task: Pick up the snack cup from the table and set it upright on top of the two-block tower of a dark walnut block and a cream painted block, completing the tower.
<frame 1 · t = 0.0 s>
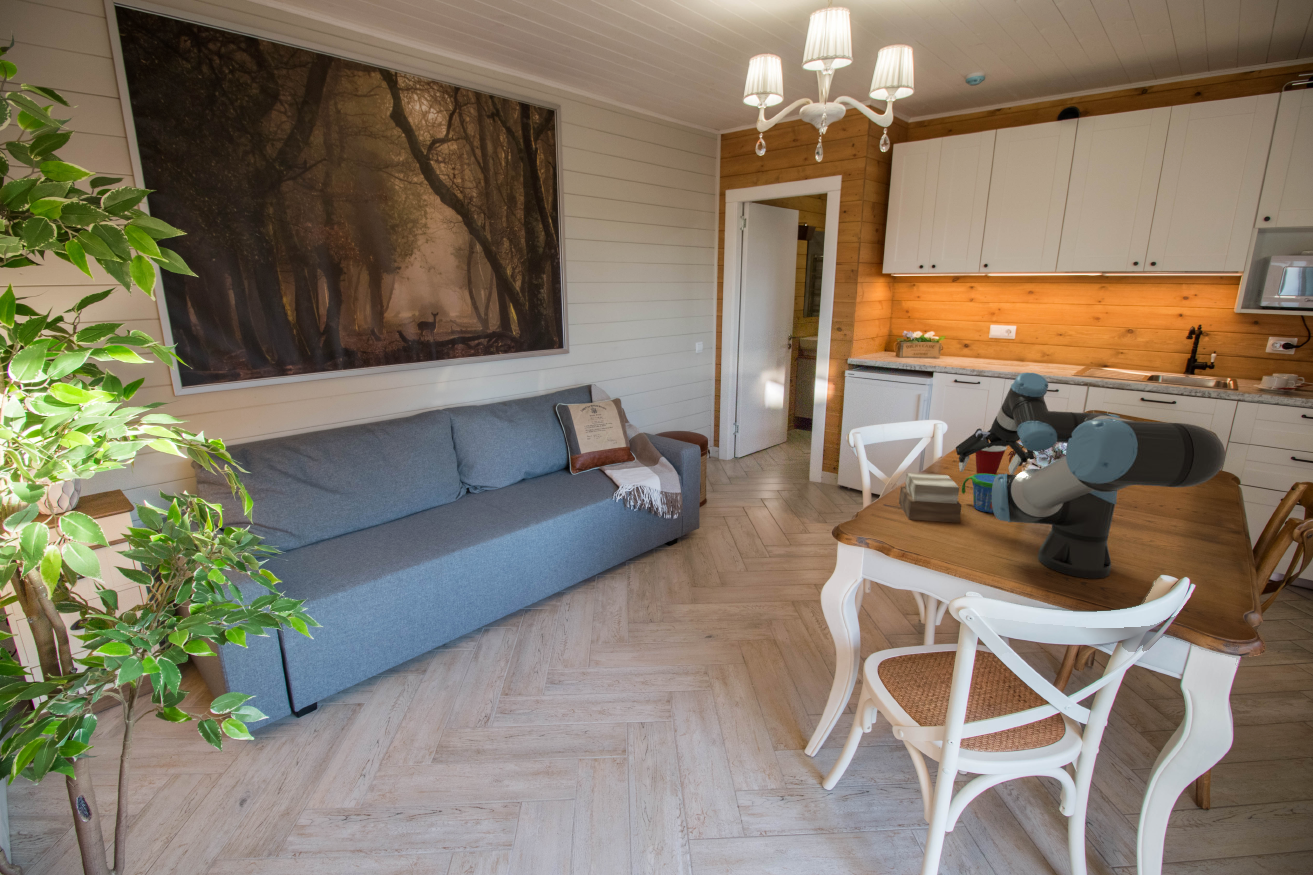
hand: (985, 469, 181), 15 cm above the table, tool tilted 35°, fingers open, 13 cm apart
brick tower: (927, 512, 189), on the table
plastic cup: (985, 477, 226), on the table
snack cup: (986, 510, 193), on the table
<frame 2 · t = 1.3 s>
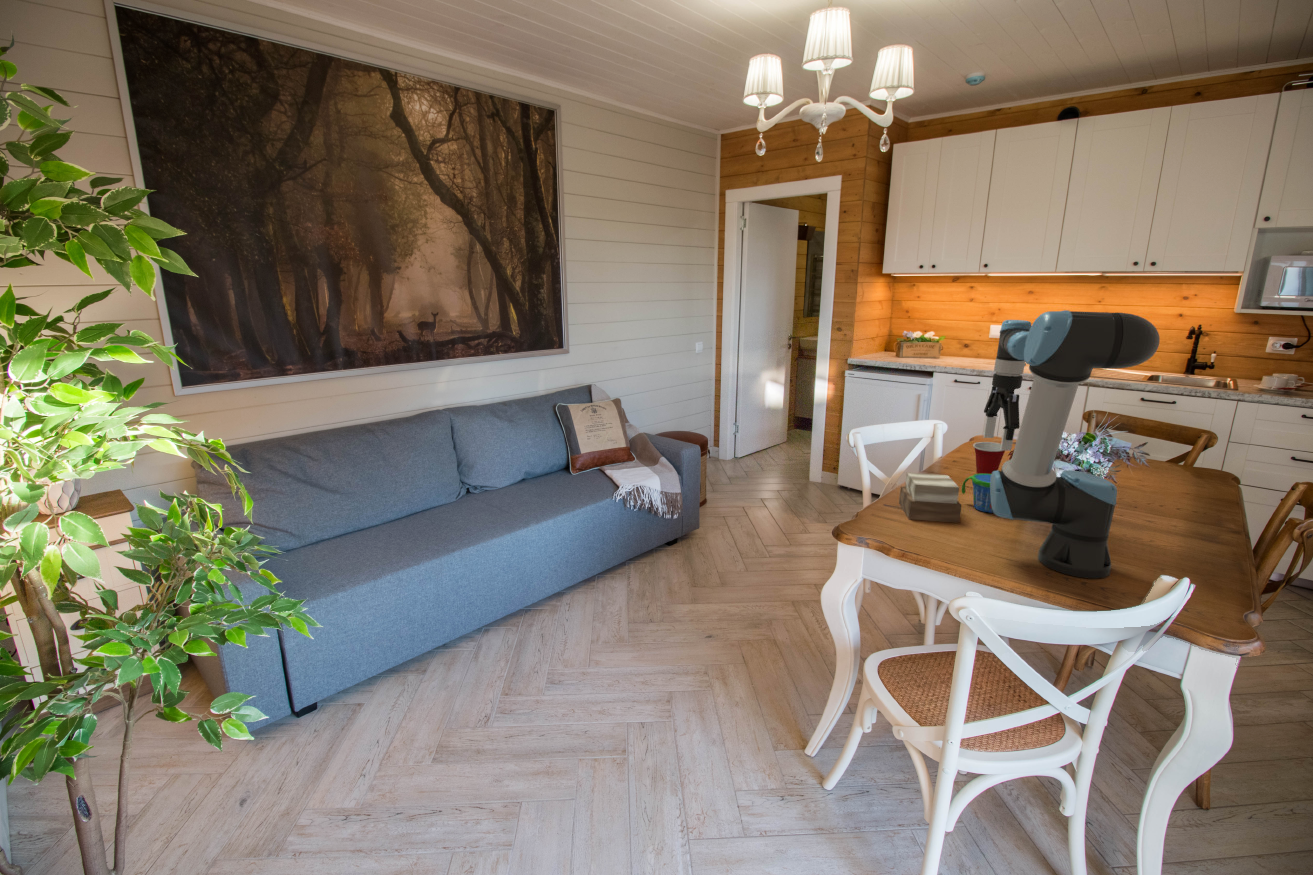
hand: (996, 443, 187), 21 cm above the table, tool pointing down, fingers open, 13 cm apart
nothing on the table moved.
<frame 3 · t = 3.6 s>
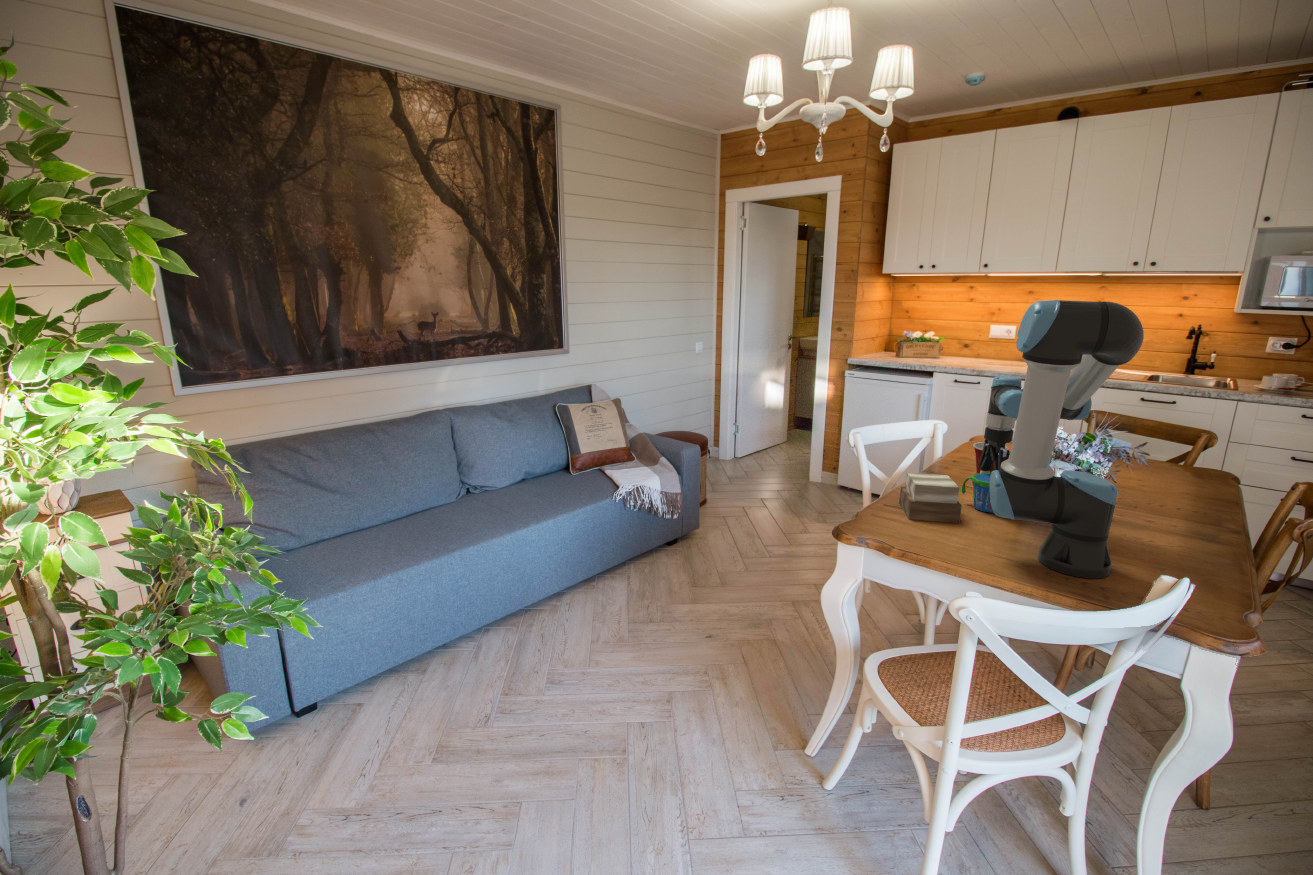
hand: (988, 496, 192), 4 cm above the table, tool pointing down, fingers closed on snack cup, 11 cm apart
snack cup: (986, 509, 193), on the table, touching gripper
everything else where it was.
when the fingers open (15 cm above the table, at t = 9.5 s): snack cup stays where it is, resting on brick tower.
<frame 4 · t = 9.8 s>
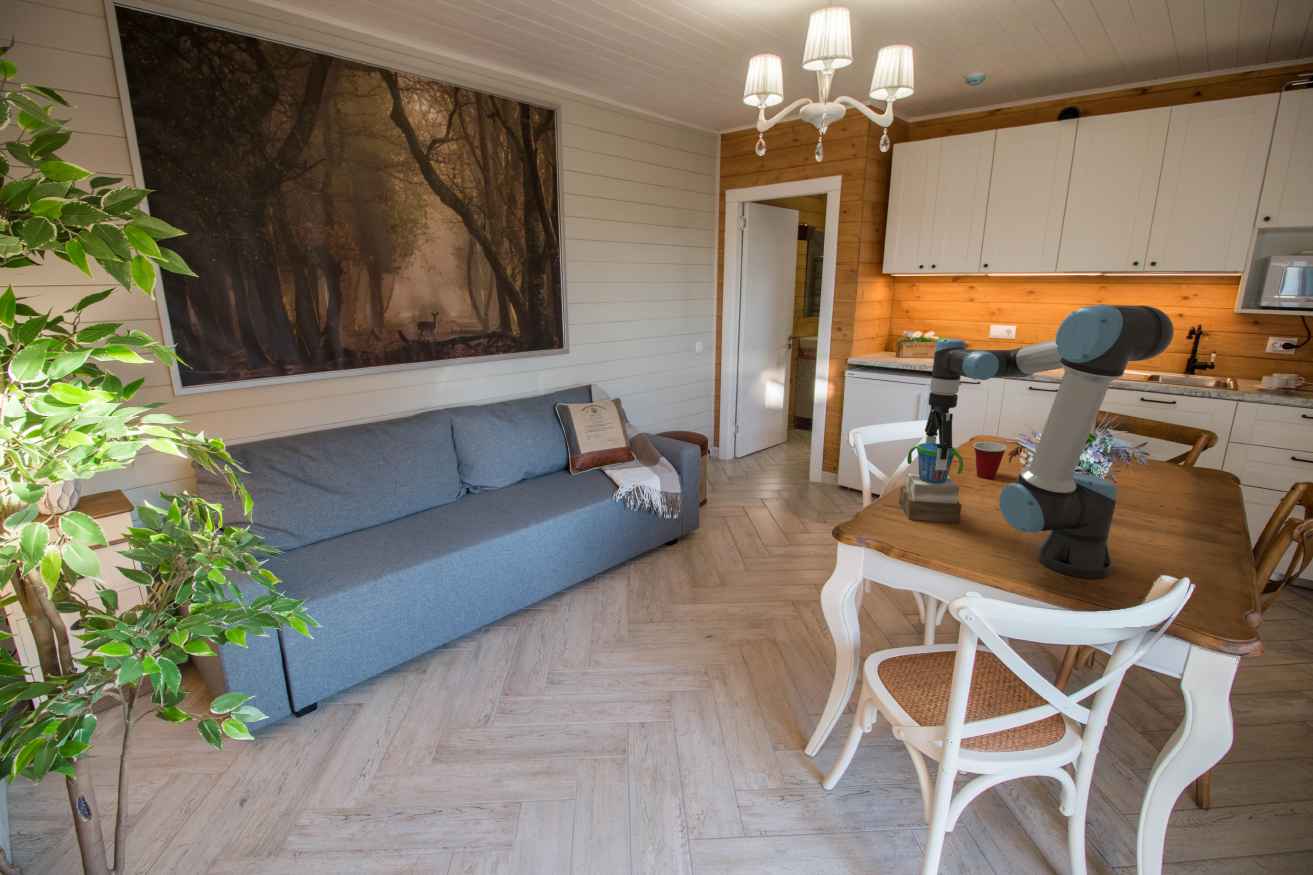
hand: (934, 463, 185), 16 cm above the table, tool pointing down, fingers open, 13 cm apart
snack cup: (932, 480, 187), point 10 cm above the table, touching brick tower
everything else where it was.
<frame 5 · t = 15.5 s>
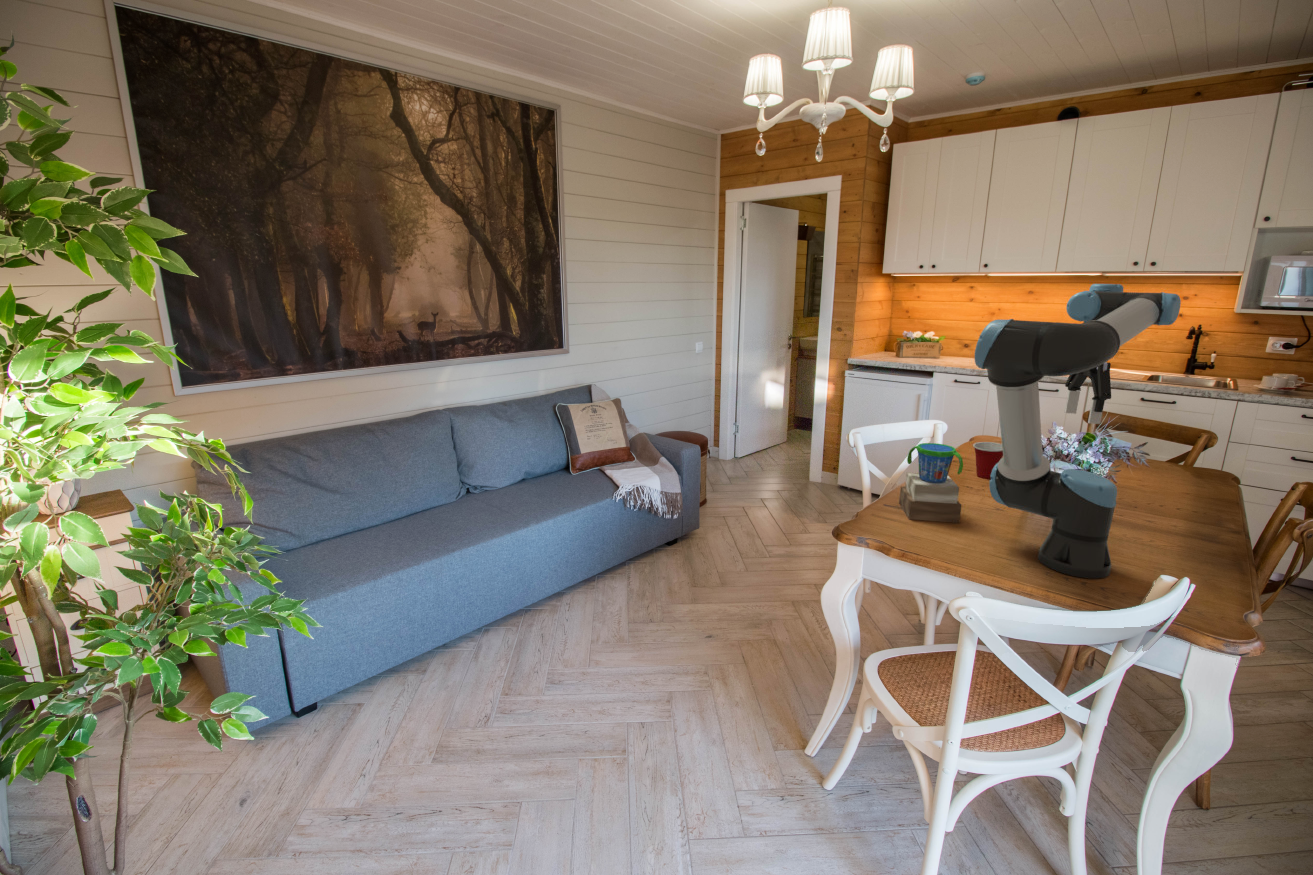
hand: (1081, 418, 175), 32 cm above the table, tool pointing down, fingers open, 13 cm apart
nothing on the table moved.
at the end: snack cup inside the target area on the brick tower (0.0 cm from its centre), point 10.3 cm above the brick tower's base; snack cup tilted 0°; the gripper is holding nothing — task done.
